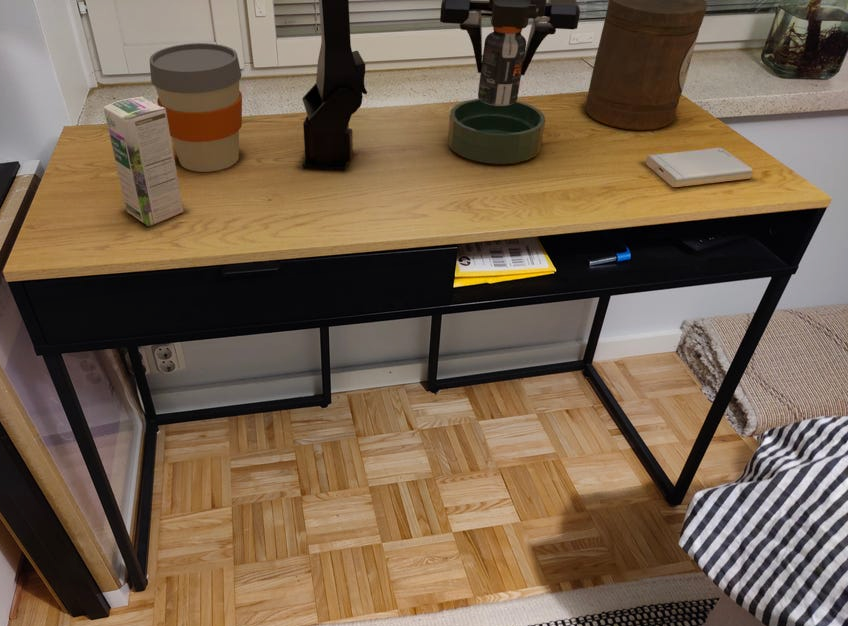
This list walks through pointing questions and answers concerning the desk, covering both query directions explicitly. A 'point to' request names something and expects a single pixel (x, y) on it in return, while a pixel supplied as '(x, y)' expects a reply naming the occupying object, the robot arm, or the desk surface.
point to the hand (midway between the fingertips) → (500, 73)
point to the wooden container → (643, 61)
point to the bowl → (496, 131)
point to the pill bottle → (502, 66)
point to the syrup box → (144, 159)
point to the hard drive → (698, 167)
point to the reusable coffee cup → (200, 102)
